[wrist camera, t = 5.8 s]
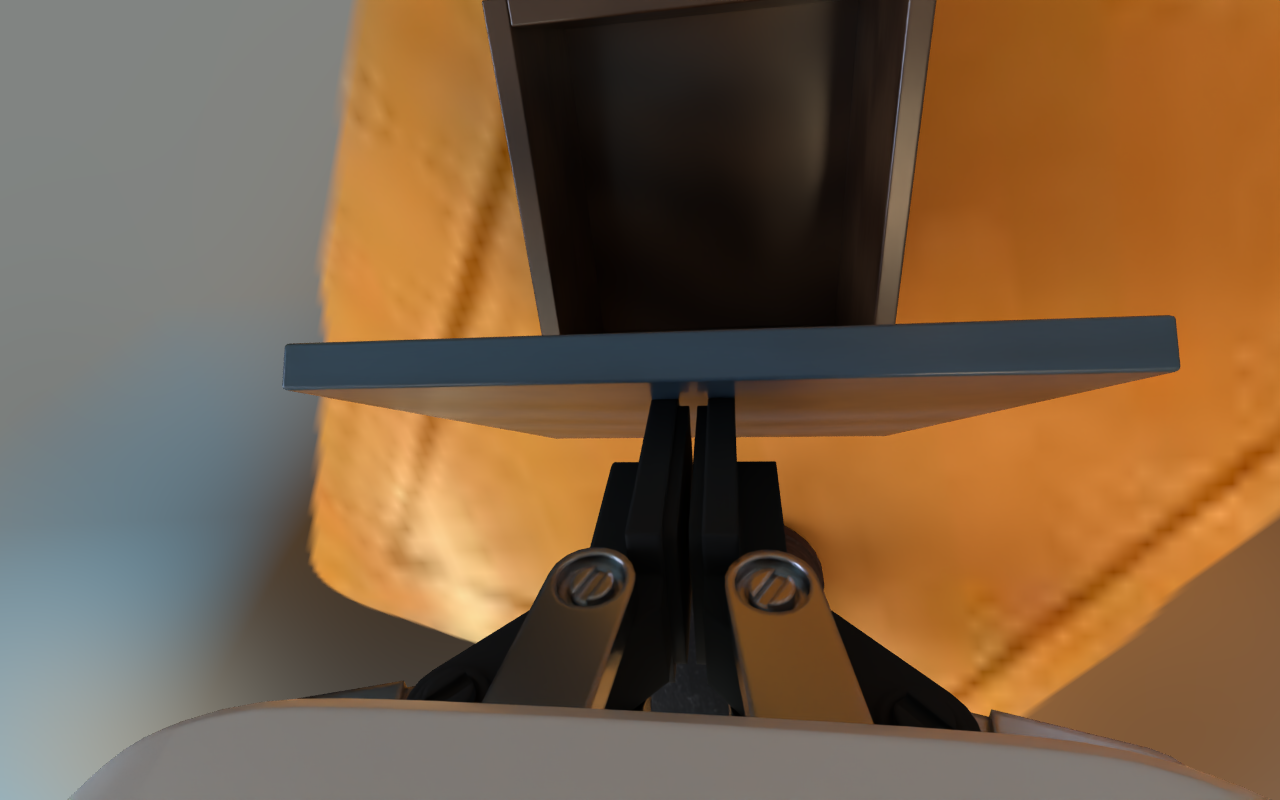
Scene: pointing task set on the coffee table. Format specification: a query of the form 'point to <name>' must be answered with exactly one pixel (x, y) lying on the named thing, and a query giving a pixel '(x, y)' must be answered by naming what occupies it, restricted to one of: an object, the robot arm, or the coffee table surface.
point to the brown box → (712, 158)
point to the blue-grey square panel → (742, 374)
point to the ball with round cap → (692, 678)
